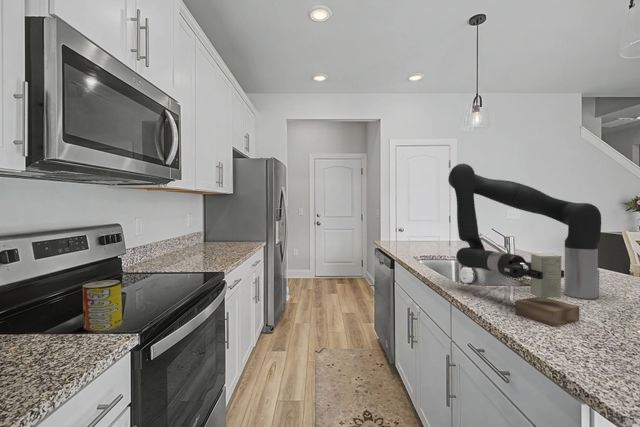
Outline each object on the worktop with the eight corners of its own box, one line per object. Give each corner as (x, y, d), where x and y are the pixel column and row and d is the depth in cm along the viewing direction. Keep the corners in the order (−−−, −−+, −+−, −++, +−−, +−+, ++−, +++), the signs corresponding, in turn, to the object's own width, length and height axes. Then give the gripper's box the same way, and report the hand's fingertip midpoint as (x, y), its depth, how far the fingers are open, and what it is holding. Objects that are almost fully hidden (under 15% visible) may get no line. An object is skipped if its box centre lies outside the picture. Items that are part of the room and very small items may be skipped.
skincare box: (552, 294, 96) (552, 253, 95) (561, 298, 91) (562, 255, 91) (529, 293, 96) (530, 253, 96) (538, 297, 92) (538, 255, 91)
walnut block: (540, 310, 101) (540, 296, 101) (579, 322, 91) (579, 306, 91) (515, 315, 97) (515, 300, 97) (553, 327, 87) (553, 311, 86)
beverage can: (79, 326, 90) (78, 284, 90) (116, 318, 97) (115, 278, 97) (88, 334, 84) (87, 289, 84) (126, 325, 91) (125, 283, 91)
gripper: (488, 254, 105) (532, 263, 89) (523, 252, 109) (572, 260, 93) (487, 276, 106) (532, 289, 90) (523, 274, 109) (572, 286, 93)
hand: (552, 274), depth 91 cm, fingers closed on skincare box, 7 cm apart
